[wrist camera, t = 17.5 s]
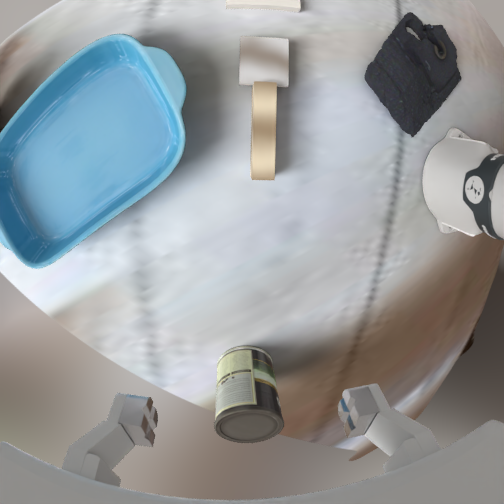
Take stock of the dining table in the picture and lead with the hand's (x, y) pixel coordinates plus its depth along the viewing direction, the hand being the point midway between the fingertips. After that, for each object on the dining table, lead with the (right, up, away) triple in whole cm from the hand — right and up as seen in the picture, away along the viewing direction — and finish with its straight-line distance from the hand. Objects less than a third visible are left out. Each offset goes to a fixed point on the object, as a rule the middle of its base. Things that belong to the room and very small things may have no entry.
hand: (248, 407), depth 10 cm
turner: (+1, +26, +21) cm, 33 cm away
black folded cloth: (+26, +35, +20) cm, 48 cm away
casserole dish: (-25, +21, +22) cm, 39 cm away
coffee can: (-1, -14, +37) cm, 40 cm away
